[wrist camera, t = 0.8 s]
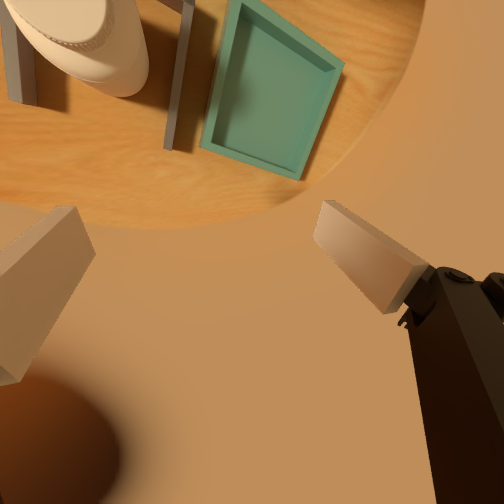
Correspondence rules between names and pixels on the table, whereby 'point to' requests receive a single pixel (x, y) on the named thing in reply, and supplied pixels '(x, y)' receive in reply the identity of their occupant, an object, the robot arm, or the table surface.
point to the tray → (267, 90)
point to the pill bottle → (88, 40)
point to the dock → (23, 62)
